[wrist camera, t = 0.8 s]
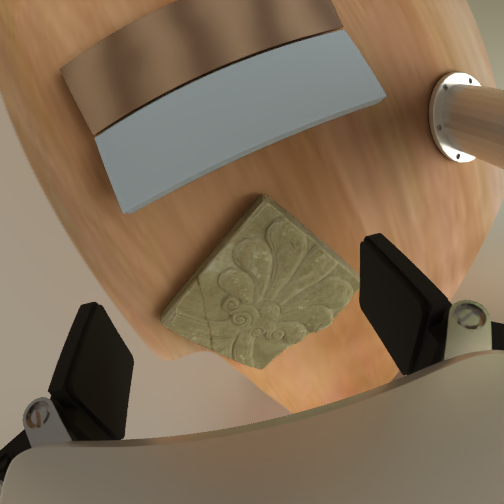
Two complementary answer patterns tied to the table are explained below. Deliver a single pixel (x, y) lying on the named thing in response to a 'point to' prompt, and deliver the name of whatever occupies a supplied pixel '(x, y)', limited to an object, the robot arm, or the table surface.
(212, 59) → the walnut plank
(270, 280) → the decorative tile
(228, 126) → the grey-blue plank
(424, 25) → the table surface
